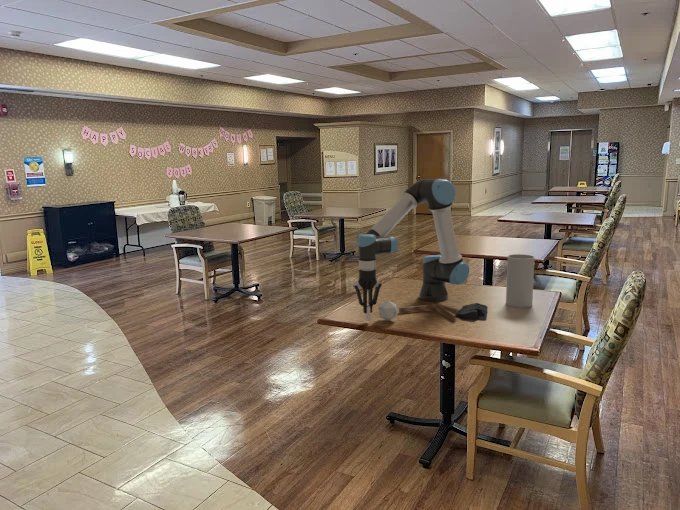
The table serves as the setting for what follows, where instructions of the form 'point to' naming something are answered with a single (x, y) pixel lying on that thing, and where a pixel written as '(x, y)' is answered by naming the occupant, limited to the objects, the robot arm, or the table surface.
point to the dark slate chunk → (473, 312)
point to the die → (388, 310)
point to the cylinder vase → (520, 280)
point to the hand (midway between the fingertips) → (367, 319)
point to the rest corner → (428, 308)
